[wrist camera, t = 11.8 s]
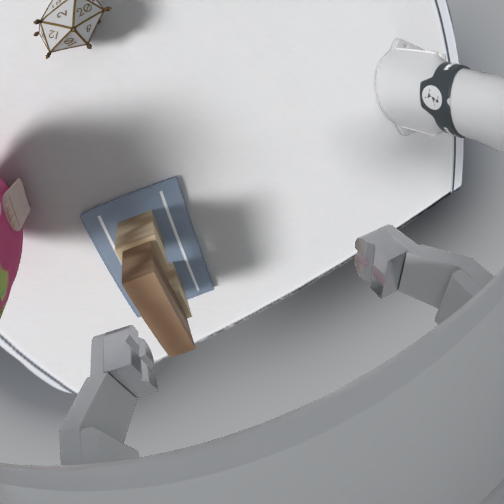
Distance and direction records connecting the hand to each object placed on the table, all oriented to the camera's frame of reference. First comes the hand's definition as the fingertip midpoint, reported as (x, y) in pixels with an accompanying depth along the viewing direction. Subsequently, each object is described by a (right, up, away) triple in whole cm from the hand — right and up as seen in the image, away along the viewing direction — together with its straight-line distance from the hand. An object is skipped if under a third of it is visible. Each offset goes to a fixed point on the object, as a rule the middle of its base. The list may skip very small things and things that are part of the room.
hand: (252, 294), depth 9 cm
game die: (-20, +28, +11) cm, 36 cm away
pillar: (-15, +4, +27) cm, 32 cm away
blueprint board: (-15, +1, +31) cm, 34 cm away
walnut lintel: (-12, -3, +25) cm, 28 cm away
